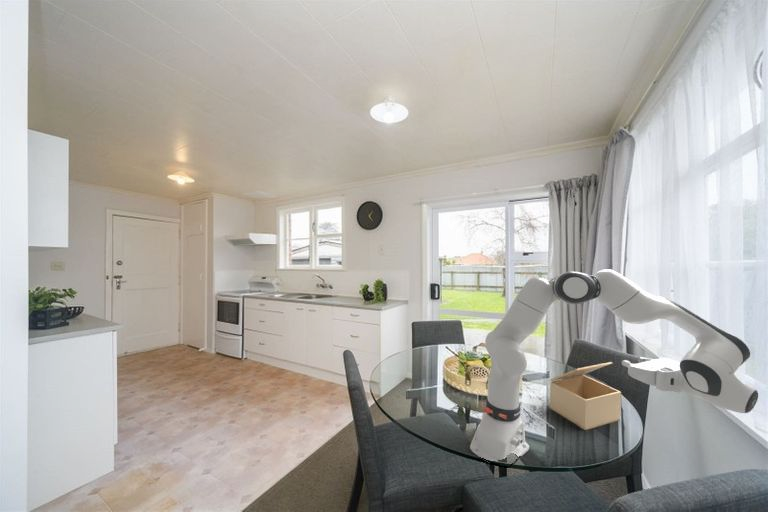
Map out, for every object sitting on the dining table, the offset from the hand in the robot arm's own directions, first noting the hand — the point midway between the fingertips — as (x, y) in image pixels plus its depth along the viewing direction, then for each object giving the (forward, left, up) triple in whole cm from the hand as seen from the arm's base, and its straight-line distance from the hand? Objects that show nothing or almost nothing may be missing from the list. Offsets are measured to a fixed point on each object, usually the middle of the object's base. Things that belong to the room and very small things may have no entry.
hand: (631, 360), depth 107 cm
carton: (+8, +15, -30) cm, 35 cm away
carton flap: (+9, +16, -13) cm, 23 cm away
